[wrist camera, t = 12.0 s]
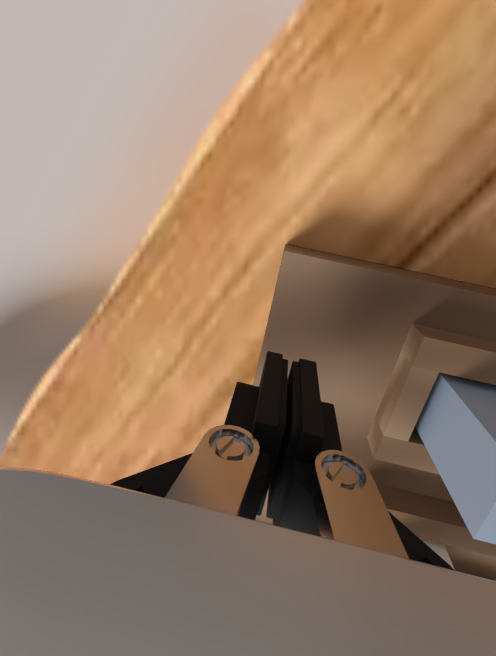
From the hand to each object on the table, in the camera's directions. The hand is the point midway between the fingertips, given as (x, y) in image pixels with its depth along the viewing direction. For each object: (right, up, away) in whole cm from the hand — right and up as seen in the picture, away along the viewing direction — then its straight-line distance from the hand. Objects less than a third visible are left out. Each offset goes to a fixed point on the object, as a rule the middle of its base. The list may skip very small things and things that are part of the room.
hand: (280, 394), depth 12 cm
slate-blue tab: (+8, -1, +2) cm, 8 cm away
